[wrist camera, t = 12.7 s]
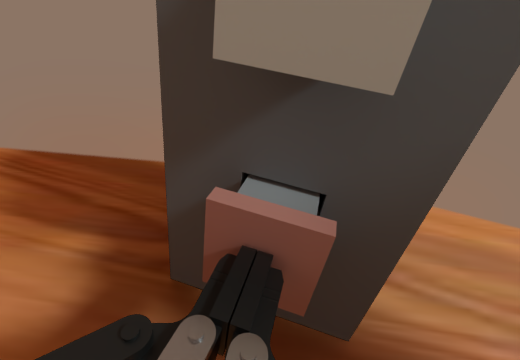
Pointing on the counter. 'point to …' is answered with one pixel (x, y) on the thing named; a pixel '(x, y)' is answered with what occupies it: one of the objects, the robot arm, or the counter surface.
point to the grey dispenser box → (329, 140)
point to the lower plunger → (271, 233)
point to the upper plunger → (322, 38)
